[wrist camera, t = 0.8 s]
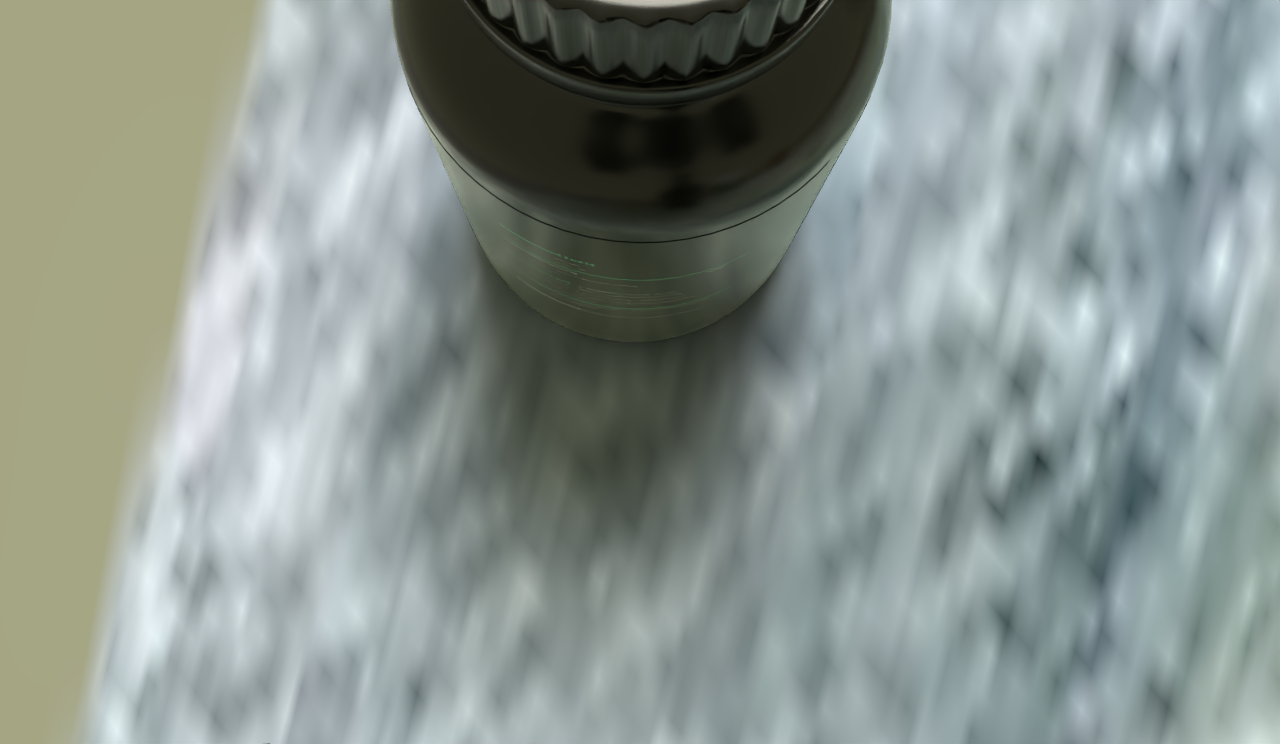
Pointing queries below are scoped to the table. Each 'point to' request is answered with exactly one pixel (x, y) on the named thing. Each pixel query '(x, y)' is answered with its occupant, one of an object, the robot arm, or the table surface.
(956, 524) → the table surface
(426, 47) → the supplement bottle
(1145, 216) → the table surface
